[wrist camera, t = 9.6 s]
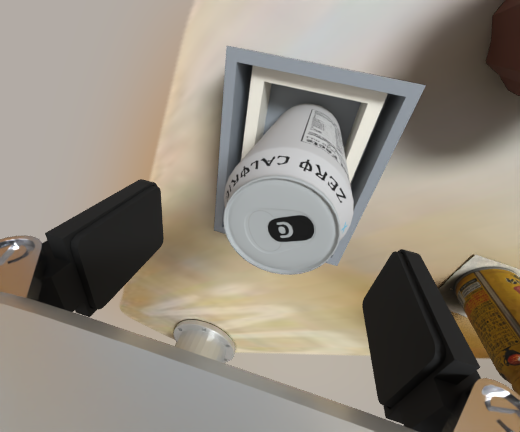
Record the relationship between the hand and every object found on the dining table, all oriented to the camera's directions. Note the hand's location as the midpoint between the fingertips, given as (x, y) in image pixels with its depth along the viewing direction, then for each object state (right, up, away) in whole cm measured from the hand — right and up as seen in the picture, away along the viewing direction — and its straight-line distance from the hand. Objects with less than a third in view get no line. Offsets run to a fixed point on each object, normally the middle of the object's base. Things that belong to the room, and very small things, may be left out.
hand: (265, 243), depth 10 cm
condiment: (+25, -7, +18) cm, 31 cm away
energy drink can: (+4, +8, +13) cm, 16 cm away
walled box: (+4, +7, +14) cm, 16 cm away
